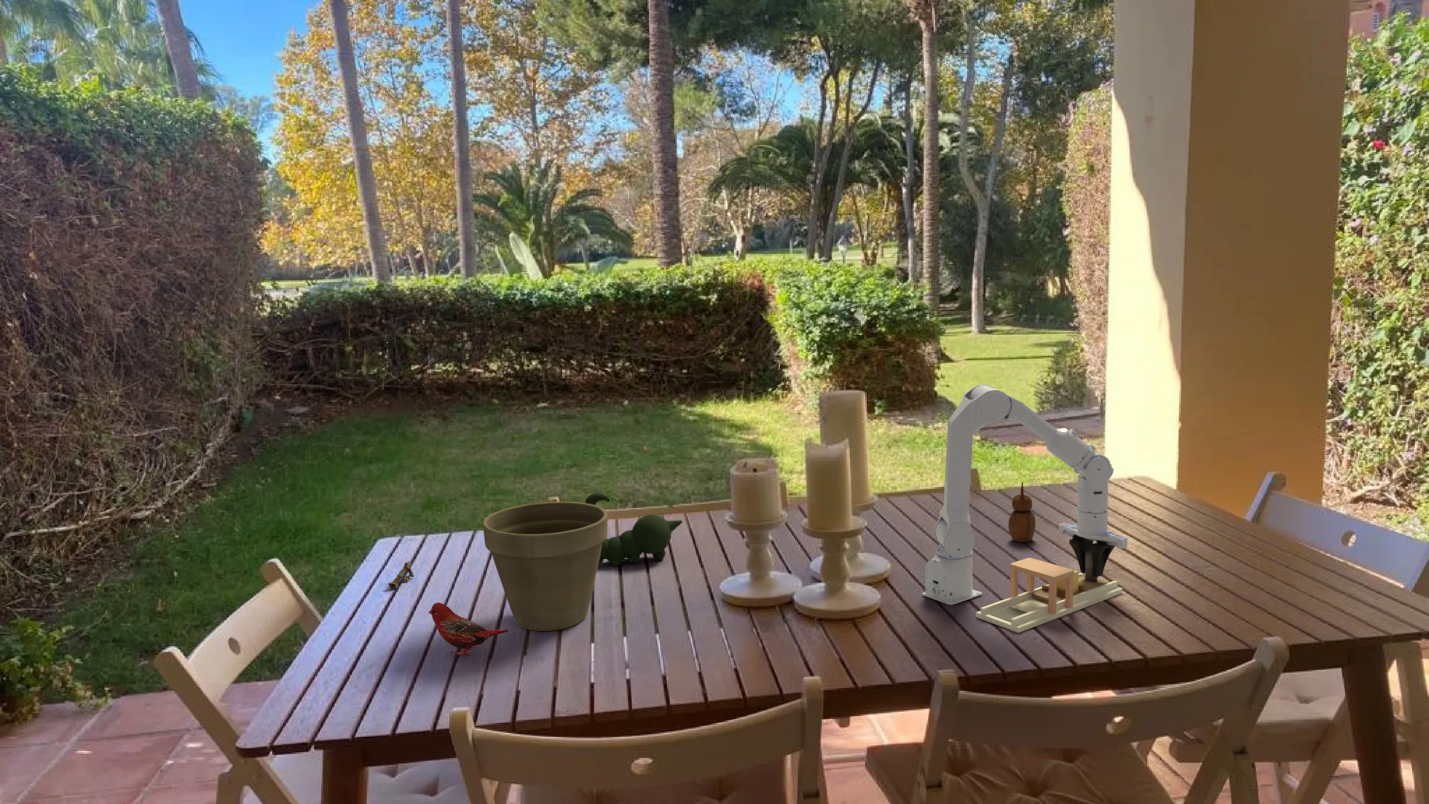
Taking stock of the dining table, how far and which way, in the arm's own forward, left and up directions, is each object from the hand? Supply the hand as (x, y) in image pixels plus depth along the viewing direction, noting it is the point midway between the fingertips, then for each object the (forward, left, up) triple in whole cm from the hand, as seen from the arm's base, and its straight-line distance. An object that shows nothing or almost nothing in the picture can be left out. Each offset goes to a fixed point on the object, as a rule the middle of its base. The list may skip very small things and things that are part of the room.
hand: (1091, 574), depth 191 cm
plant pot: (-94, +59, -4) cm, 111 cm away
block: (-9, 0, -1) cm, 9 cm away
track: (-13, 0, -3) cm, 13 cm away
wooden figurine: (+17, +31, -4) cm, 36 cm away
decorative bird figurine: (-114, +51, -4) cm, 125 cm away
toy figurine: (-64, +81, -4) cm, 103 cm away
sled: (-7, 0, -2) cm, 7 cm away
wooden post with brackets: (-113, +103, -4) cm, 153 cm away
